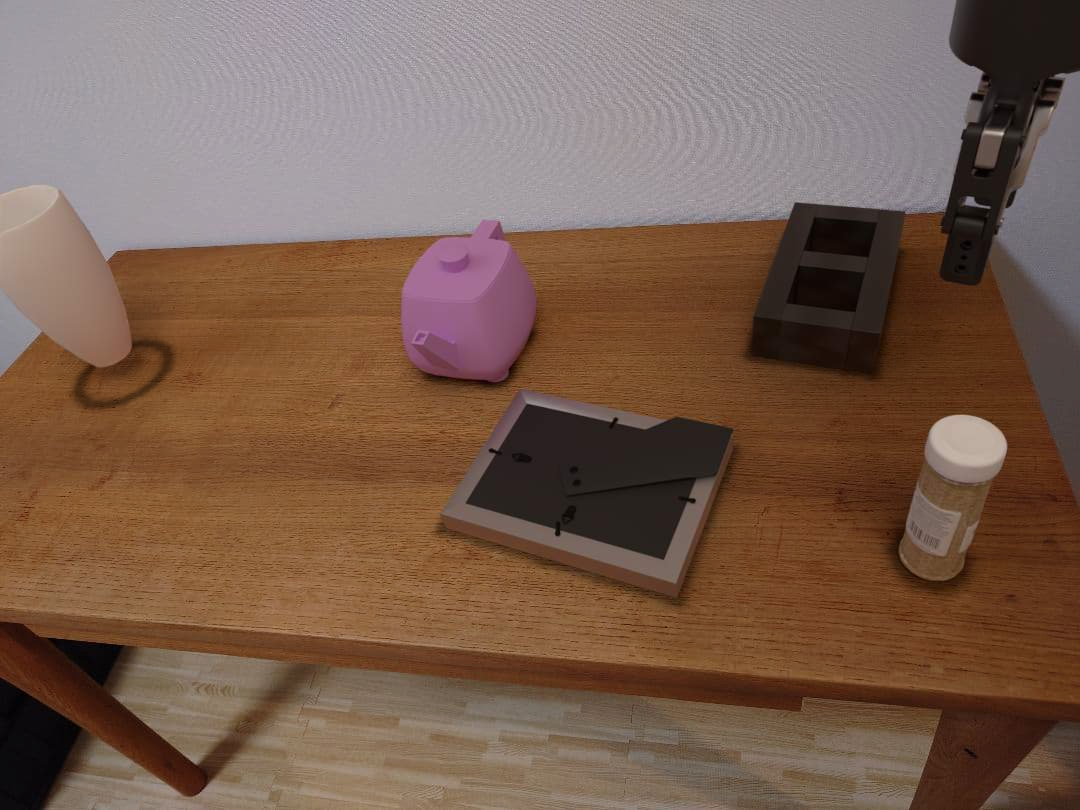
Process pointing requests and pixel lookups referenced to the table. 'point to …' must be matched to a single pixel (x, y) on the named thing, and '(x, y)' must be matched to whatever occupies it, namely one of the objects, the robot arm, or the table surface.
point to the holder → (829, 287)
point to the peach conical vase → (60, 275)
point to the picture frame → (594, 488)
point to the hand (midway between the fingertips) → (977, 240)
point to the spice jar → (950, 495)
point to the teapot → (468, 306)
